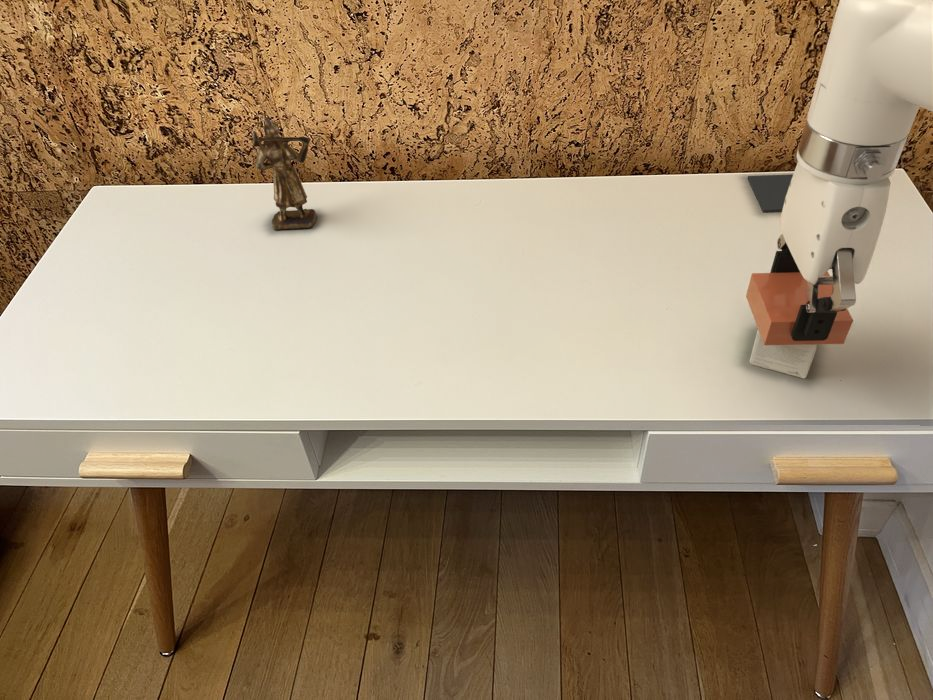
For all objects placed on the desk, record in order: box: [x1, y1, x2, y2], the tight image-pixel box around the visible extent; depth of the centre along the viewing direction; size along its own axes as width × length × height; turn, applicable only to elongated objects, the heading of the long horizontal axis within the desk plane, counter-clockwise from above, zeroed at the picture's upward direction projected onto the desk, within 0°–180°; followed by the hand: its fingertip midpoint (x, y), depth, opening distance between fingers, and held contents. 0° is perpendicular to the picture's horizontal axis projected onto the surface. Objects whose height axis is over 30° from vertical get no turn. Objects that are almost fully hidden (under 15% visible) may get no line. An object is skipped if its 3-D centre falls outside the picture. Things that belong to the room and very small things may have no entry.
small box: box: [749, 329, 819, 379], centre depth 74 cm, size 6×6×5 cm
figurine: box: [247, 116, 318, 231], centre depth 94 cm, size 7×4×15 cm, turn 89°
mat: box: [747, 173, 794, 213], centre depth 97 cm, size 8×8×1 cm
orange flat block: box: [745, 271, 854, 345], centre depth 71 cm, size 7×7×3 cm
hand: (795, 309), depth 72 cm, fingers closed on orange flat block, 7 cm apart
